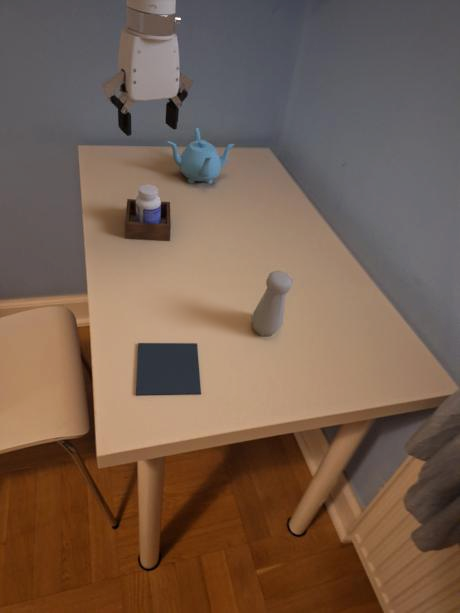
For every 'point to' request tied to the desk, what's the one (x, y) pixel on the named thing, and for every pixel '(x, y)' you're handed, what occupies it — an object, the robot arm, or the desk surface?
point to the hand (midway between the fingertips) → (149, 129)
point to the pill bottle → (148, 205)
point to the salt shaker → (272, 304)
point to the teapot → (200, 160)
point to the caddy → (147, 224)
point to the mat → (167, 369)
